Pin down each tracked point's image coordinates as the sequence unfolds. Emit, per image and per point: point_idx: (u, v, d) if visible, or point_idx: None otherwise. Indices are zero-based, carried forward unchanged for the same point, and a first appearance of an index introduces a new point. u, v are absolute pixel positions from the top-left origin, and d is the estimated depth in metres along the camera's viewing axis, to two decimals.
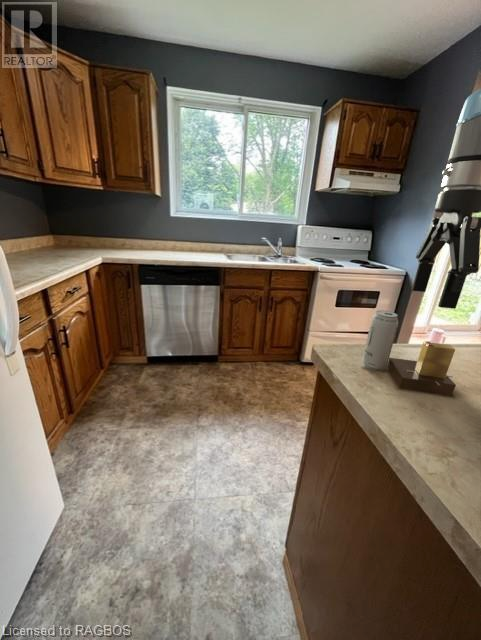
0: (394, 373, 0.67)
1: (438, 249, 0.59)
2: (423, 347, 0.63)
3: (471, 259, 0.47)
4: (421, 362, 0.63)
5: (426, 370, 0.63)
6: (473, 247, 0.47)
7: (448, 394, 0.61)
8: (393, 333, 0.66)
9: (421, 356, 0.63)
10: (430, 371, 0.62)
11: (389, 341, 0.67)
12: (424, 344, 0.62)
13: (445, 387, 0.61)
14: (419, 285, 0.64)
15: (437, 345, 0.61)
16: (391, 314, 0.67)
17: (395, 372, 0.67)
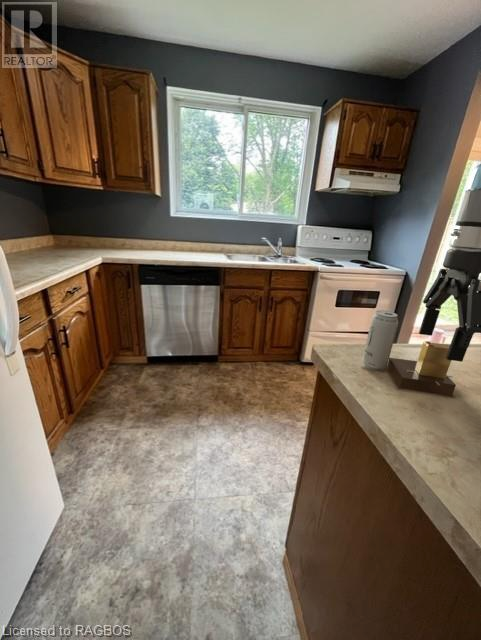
0: (394, 373, 0.67)
1: (445, 298, 0.62)
2: (423, 347, 0.63)
3: (478, 320, 0.49)
4: (421, 362, 0.63)
5: (426, 370, 0.63)
6: (480, 309, 0.50)
7: (448, 394, 0.61)
8: (393, 333, 0.66)
9: (421, 356, 0.63)
10: (430, 371, 0.62)
11: (389, 341, 0.67)
12: (424, 344, 0.62)
13: (445, 387, 0.61)
14: (426, 329, 0.67)
15: (437, 345, 0.61)
16: (391, 314, 0.67)
17: (395, 372, 0.67)
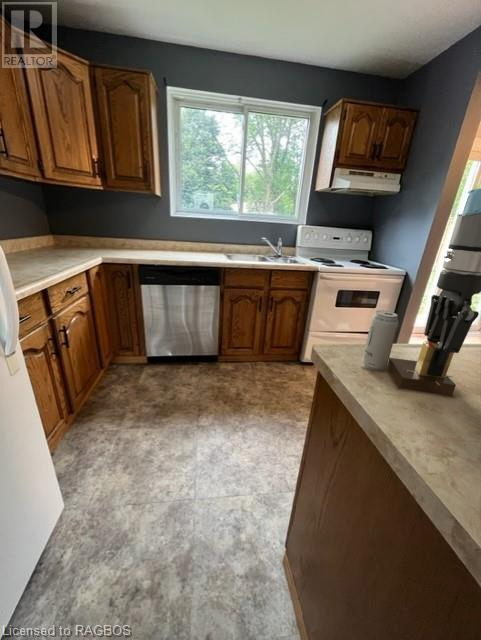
0: (394, 373, 0.67)
1: None
2: (423, 347, 0.63)
3: (455, 344, 0.56)
4: (421, 362, 0.63)
5: (426, 370, 0.63)
6: (461, 335, 0.55)
7: (448, 394, 0.61)
8: (393, 333, 0.66)
9: (421, 356, 0.63)
10: None
11: (389, 341, 0.67)
12: (424, 344, 0.62)
13: (445, 387, 0.61)
14: None
15: (437, 345, 0.61)
16: (391, 314, 0.67)
17: (395, 372, 0.67)
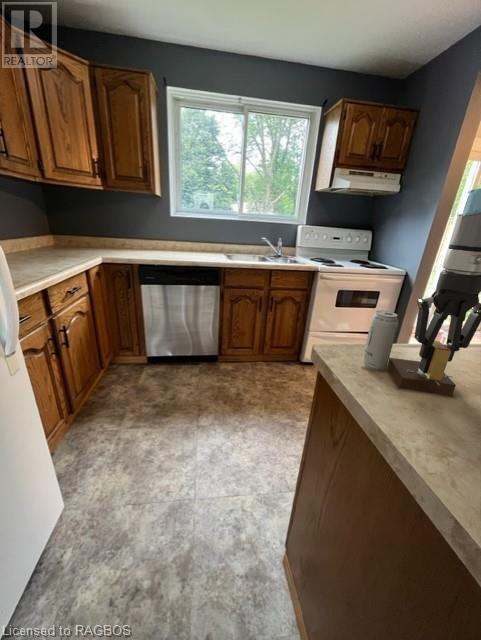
0: (394, 373, 0.67)
1: None
2: (439, 354, 0.59)
3: None
4: (442, 369, 0.60)
5: None
6: None
7: (448, 394, 0.61)
8: (393, 333, 0.66)
9: (439, 364, 0.60)
10: None
11: (389, 341, 0.67)
12: (442, 351, 0.59)
13: (445, 387, 0.61)
14: None
15: (439, 345, 0.61)
16: (391, 314, 0.67)
17: (395, 372, 0.67)
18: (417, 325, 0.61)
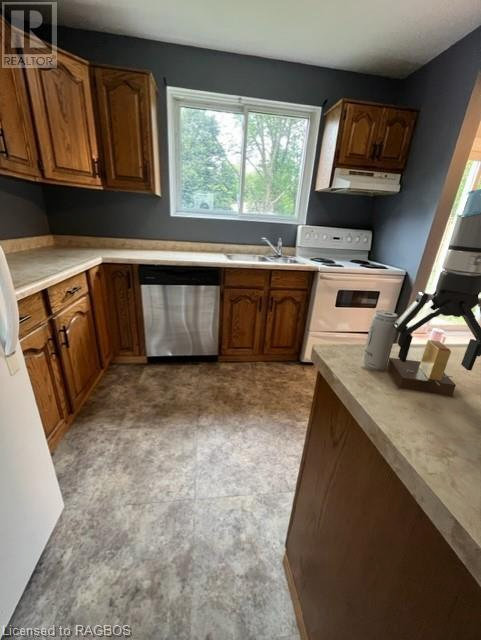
0: (394, 373, 0.67)
1: None
2: (439, 354, 0.59)
3: None
4: (442, 369, 0.60)
5: None
6: None
7: (448, 394, 0.61)
8: (393, 333, 0.66)
9: (439, 364, 0.60)
10: None
11: (389, 341, 0.67)
12: (442, 351, 0.59)
13: (445, 387, 0.61)
14: None
15: (439, 345, 0.61)
16: (391, 314, 0.67)
17: (395, 372, 0.67)
18: (403, 314, 0.61)
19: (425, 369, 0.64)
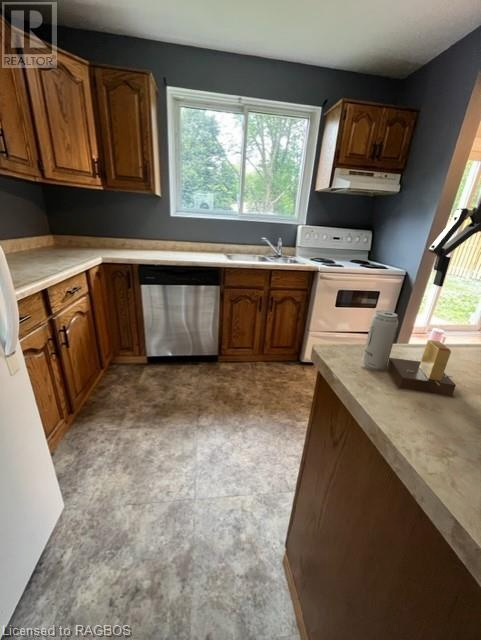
0: (394, 373, 0.67)
1: None
2: (439, 354, 0.59)
3: None
4: (442, 369, 0.60)
5: None
6: None
7: (448, 394, 0.61)
8: (393, 333, 0.66)
9: (439, 364, 0.60)
10: None
11: (389, 341, 0.67)
12: (442, 351, 0.59)
13: (445, 387, 0.61)
14: None
15: (439, 345, 0.61)
16: (391, 314, 0.67)
17: (395, 372, 0.67)
18: (440, 236, 0.60)
19: (425, 369, 0.64)
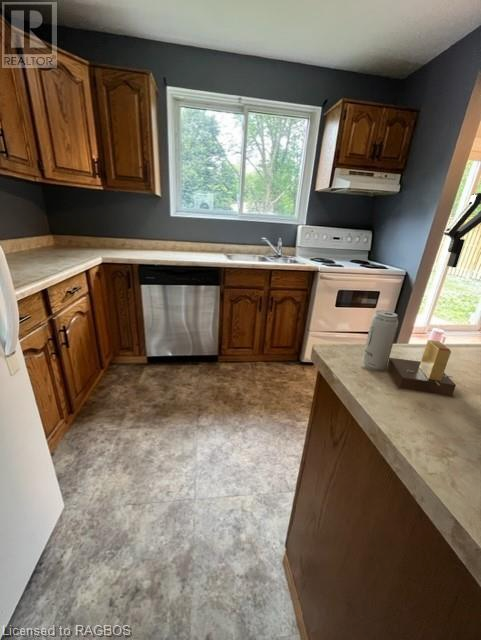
0: (394, 373, 0.67)
1: None
2: (439, 354, 0.59)
3: None
4: (442, 369, 0.60)
5: None
6: None
7: (448, 394, 0.61)
8: (393, 333, 0.66)
9: (439, 364, 0.60)
10: None
11: (389, 341, 0.67)
12: (442, 351, 0.59)
13: (445, 387, 0.61)
14: None
15: (439, 345, 0.61)
16: (391, 314, 0.67)
17: (395, 372, 0.67)
18: (455, 219, 0.64)
19: (425, 369, 0.64)
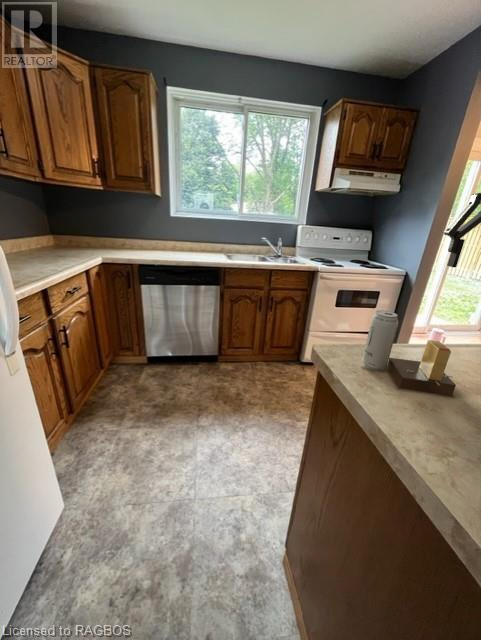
0: (394, 373, 0.67)
1: None
2: (439, 354, 0.59)
3: None
4: (442, 369, 0.60)
5: None
6: None
7: (448, 394, 0.61)
8: (393, 333, 0.66)
9: (439, 364, 0.60)
10: None
11: (389, 341, 0.67)
12: (442, 351, 0.59)
13: (445, 387, 0.61)
14: None
15: (439, 345, 0.61)
16: (391, 314, 0.67)
17: (395, 372, 0.67)
18: (455, 219, 0.64)
19: (425, 369, 0.64)
